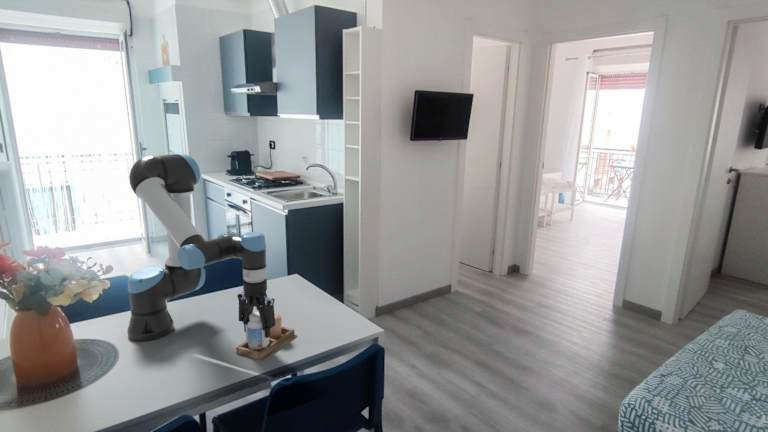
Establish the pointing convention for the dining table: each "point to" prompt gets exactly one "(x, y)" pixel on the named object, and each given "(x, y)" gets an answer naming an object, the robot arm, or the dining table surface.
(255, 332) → the pill bottle
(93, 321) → the dining table surface
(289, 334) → the rack
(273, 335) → the peach capsule shape
